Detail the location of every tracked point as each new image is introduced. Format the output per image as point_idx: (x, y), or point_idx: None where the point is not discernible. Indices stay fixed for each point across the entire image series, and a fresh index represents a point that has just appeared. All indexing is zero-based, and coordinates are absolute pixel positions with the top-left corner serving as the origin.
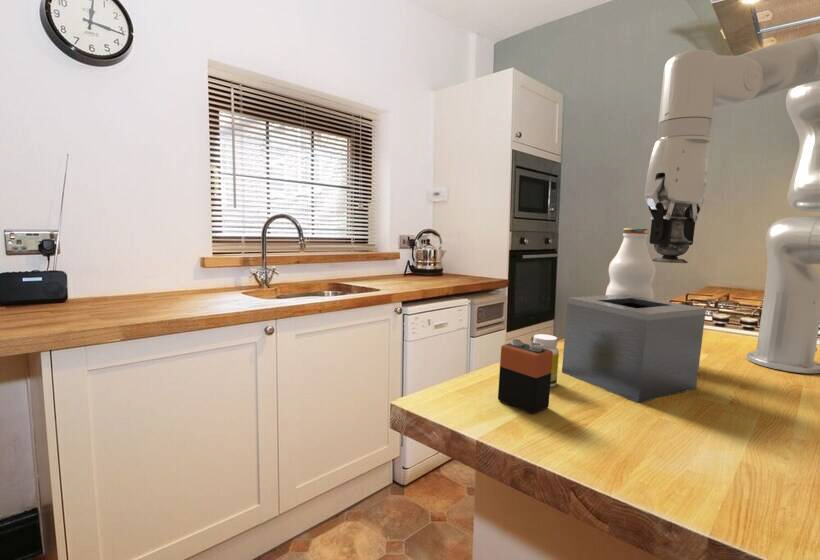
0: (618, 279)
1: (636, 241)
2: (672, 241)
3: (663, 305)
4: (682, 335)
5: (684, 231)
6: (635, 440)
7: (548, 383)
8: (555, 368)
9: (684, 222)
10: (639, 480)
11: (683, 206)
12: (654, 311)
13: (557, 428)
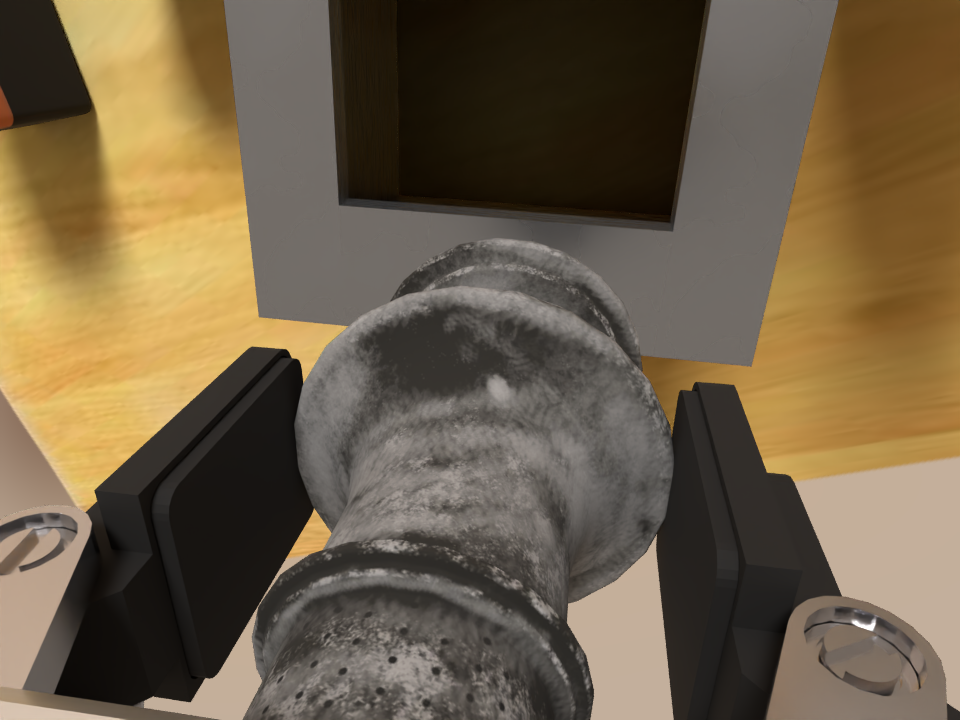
0: None
1: None
2: (331, 529)
3: (682, 170)
4: None
5: (680, 586)
6: (186, 331)
7: (25, 124)
8: None
9: (691, 678)
10: (82, 407)
11: None
12: (356, 294)
13: (52, 208)
